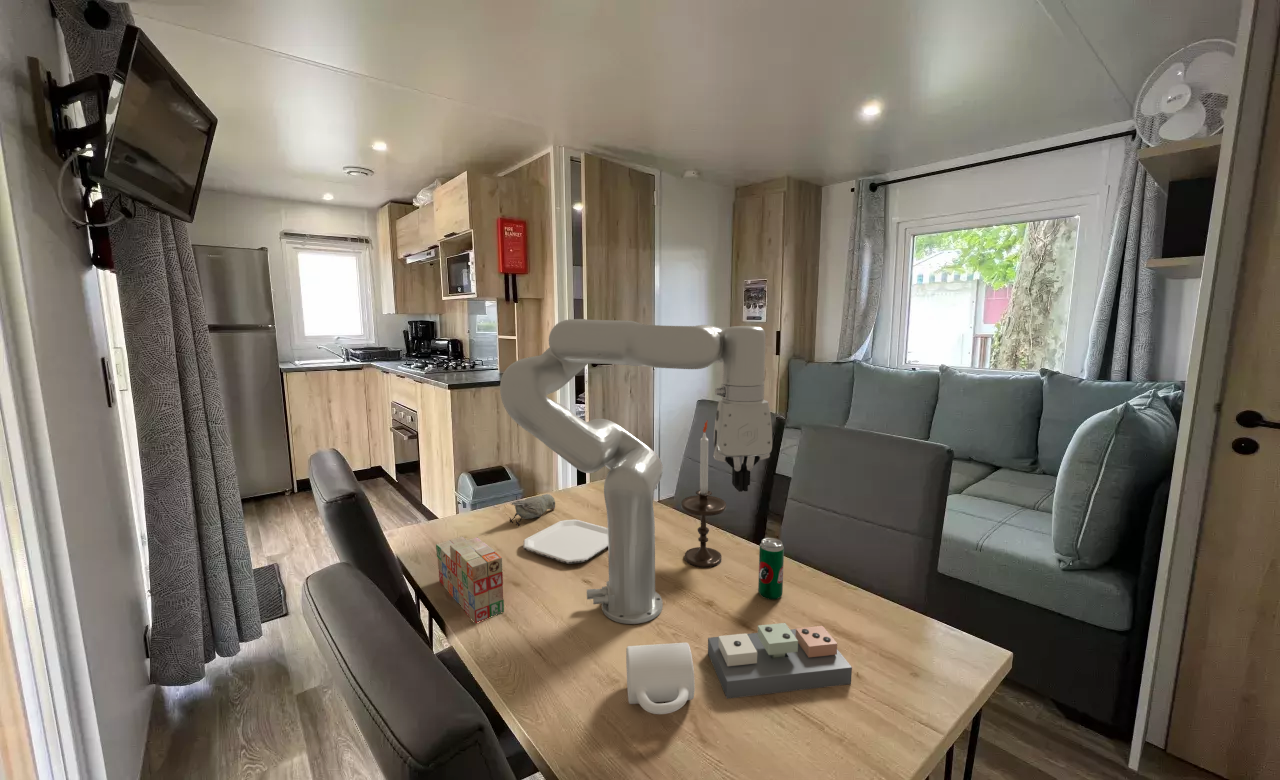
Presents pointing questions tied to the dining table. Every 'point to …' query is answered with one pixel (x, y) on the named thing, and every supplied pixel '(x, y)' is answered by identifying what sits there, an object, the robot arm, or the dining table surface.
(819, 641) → the button three
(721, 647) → the button one
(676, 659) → the mug
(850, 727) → the dining table surface
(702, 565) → the candlestick
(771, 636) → the button two
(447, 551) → the stack of blocks
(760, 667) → the button panel
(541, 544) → the plate
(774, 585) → the soda can
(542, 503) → the decorative bird
